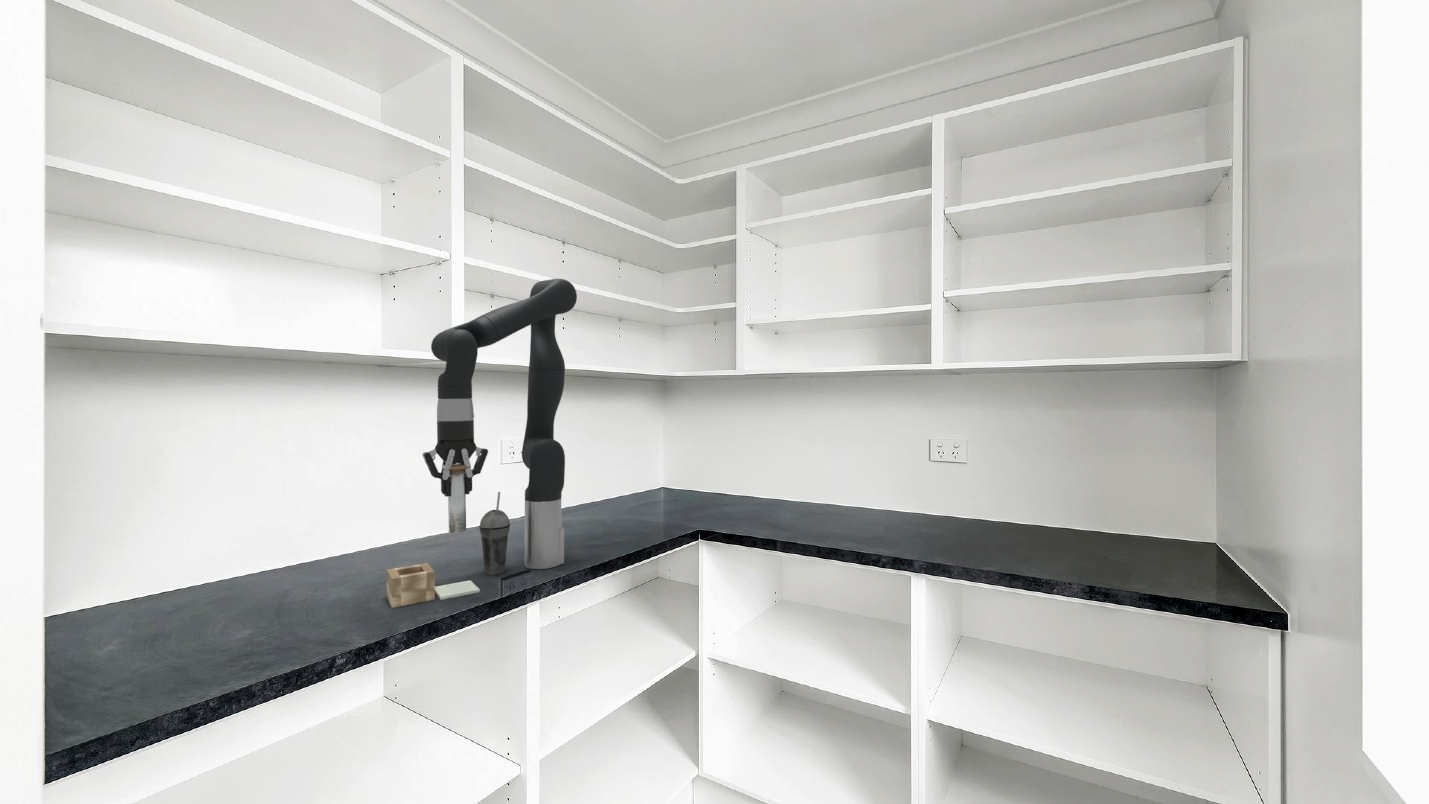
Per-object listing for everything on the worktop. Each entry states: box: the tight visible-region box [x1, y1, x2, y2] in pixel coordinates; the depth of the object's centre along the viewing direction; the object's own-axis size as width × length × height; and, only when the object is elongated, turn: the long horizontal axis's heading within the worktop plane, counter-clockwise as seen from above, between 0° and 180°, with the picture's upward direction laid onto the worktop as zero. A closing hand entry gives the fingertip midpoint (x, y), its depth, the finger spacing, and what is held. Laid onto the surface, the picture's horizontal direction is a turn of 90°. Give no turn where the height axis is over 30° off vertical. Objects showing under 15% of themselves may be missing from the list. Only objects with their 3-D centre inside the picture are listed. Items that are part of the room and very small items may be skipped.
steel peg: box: [447, 463, 468, 534], centre depth 125 cm, size 5×5×15 cm
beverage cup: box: [478, 491, 511, 576], centre depth 139 cm, size 7×7×20 cm
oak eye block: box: [386, 562, 436, 609], centre depth 120 cm, size 8×8×6 cm
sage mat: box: [435, 580, 481, 601], centre depth 125 cm, size 8×8×1 cm
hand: (456, 494), depth 125 cm, fingers closed on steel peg, 3 cm apart
